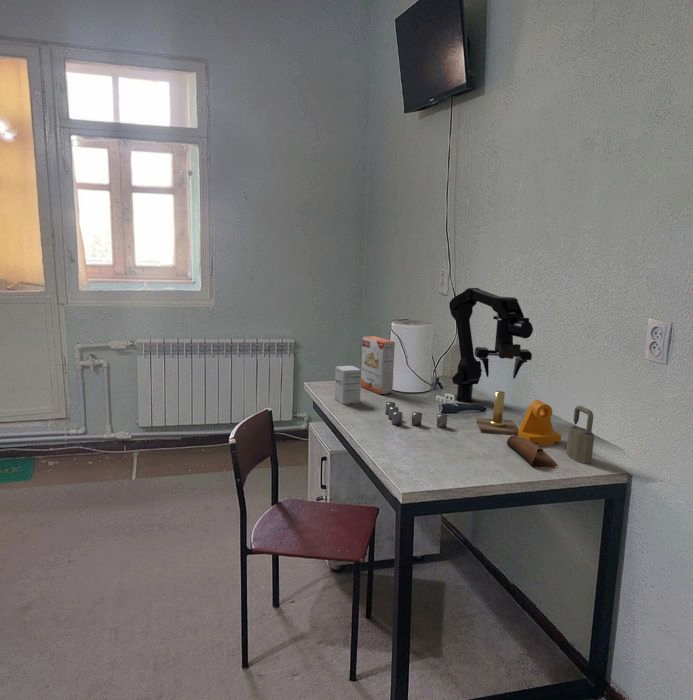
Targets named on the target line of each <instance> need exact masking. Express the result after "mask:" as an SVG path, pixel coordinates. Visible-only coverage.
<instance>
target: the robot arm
mask: <svg viewBox="0 0 693 700" xmlns="http://www.w3.org/2000/svg"><path fill="white" fill-rule="evenodd" d="M477 302H478V303H480V304H483V305H486V306H488V307H490V308H491V309H492V310H493V312H495V313H497V314H496V315H494V316H493V317H492V318H493V320H496V329H495V330H496V332H495V342H494V343H495V345H494V350H492V349H489V348H488V347H485V346H484V347H483V346H482V347H480V346H477V347H475V348H474V344H473V337H472V329H471V321H470V320H471V317H472V315H473V312H474V311H473V308H474V307H475V306H476V305H477ZM448 305H449V310H450V315H451V316H452V318H453V319H454V320H455V323H456V330H457V338H458V345H459V346H458V347H459V353H460V359H459V360H460V361H459V362H458V365H457V372H456V373H455V374H454V375H453V376H452V378H451V380H452V384H454V385H457V389H456V394H455V395H454V398H455V397H456V398H455V400H458V401H457V402H469V401H470V402H471V403H473V402H474V398H473V386H474V385H479V382H480V379H481V378H482V372H483V370H482V364H483V368H484V372H485V376H486V377H487V378H489V375H490V373H489V371H490V370H489V361H490V359H489V358H488V357H489V356H492V357H493V356H496V357H499V359H509V360H513V359H514V358H515V361H514V365H513V366H514V367H513V374H512V378H513V379H515V380H516V377H517V376H518V373H519V372H520V369H521V367H522V366H523V364H524V363H528V361H532V359H533V354H532V352H531V351H530V350H529V349H523V348H521V344H518V343H515V344H514V337H517V338H521V339H525V340H526V339H528V338H530V337H531V336H532V334H533V332H534V331H533V330H534V327H533V325H532V323H531V322H530V318H529V317H525V315H524V313H523V311H522V310H523V309H522V307H521V306H520V303H519V299H517V298H516V297H511V296H499V295H497V294H494V293H491V292H488V291H486V290H482V289H481V288H478V287H468V288H466V289H465V290H464V291H463V292H461V293H459V294H457V295H455V297H453V298H451V300H450V301H449V304H448ZM476 358H478V359H479V360H477V359H476ZM481 361H482V362H481Z"/></svg>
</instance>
